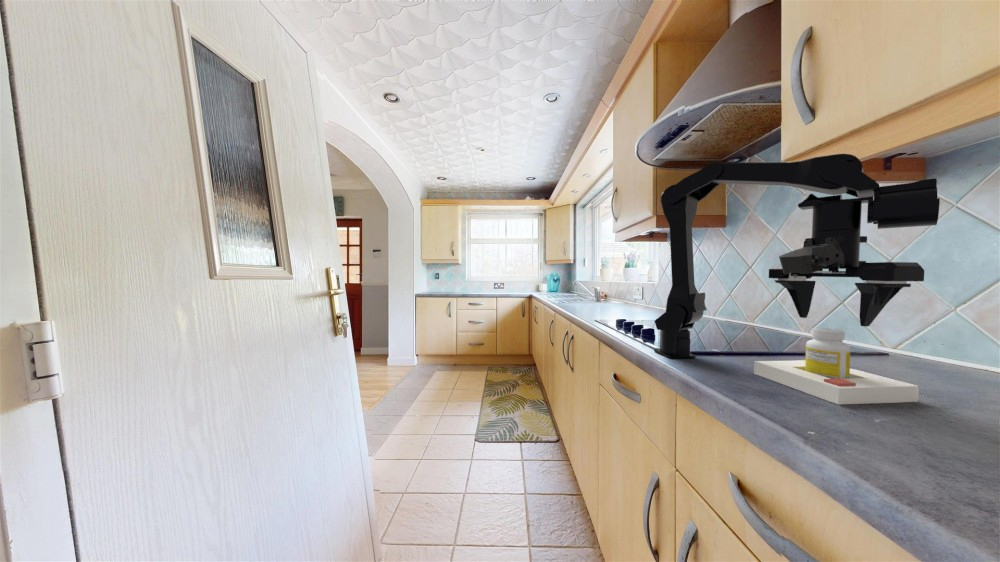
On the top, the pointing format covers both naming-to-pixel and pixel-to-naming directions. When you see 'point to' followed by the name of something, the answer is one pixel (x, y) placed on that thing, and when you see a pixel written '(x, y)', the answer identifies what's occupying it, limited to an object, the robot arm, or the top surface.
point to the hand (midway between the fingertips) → (831, 321)
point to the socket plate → (838, 384)
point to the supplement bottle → (828, 354)
